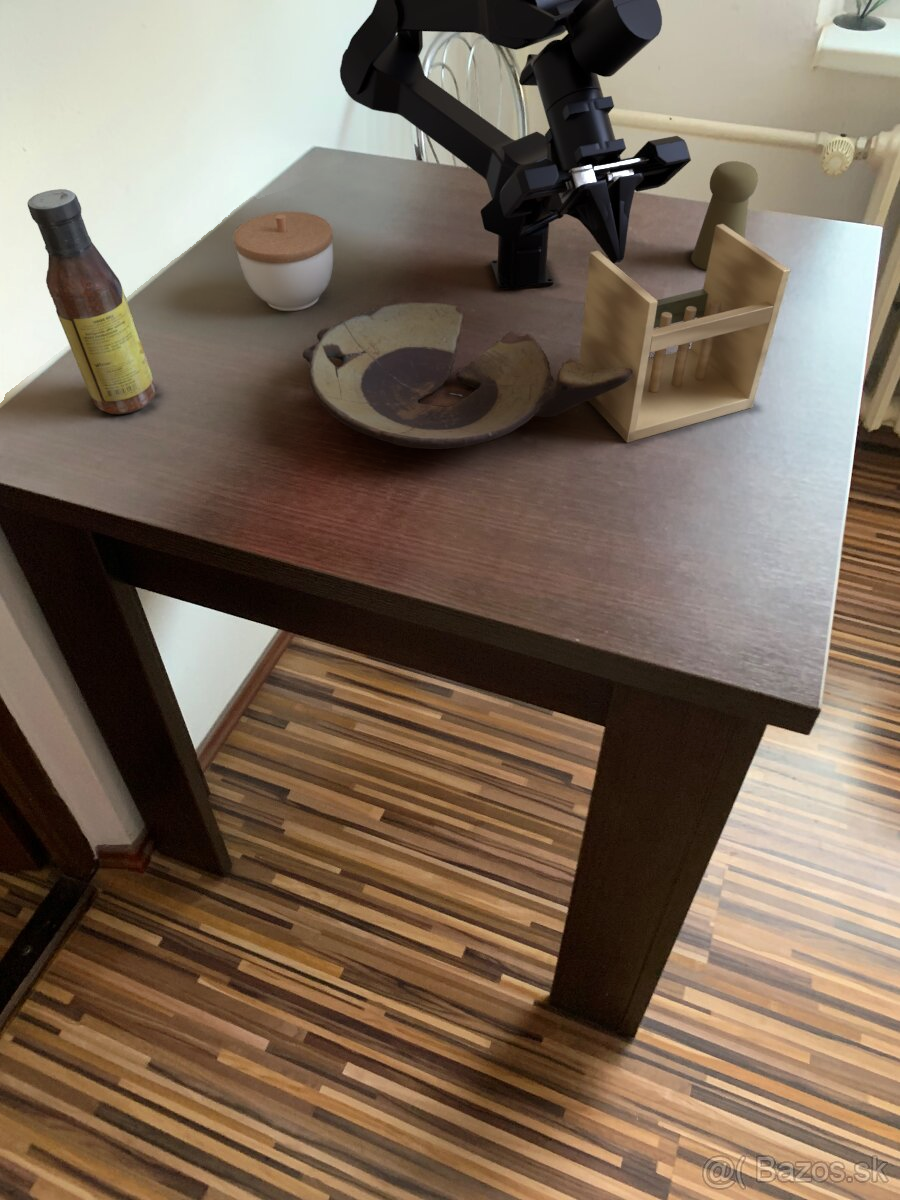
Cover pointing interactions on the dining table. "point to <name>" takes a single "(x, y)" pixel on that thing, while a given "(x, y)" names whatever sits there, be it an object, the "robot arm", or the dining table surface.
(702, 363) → the rack
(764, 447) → the dining table surface
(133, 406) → the sauce bottle
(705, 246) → the olive pawn
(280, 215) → the trinket box
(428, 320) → the broken clay pan
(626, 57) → the robot arm
